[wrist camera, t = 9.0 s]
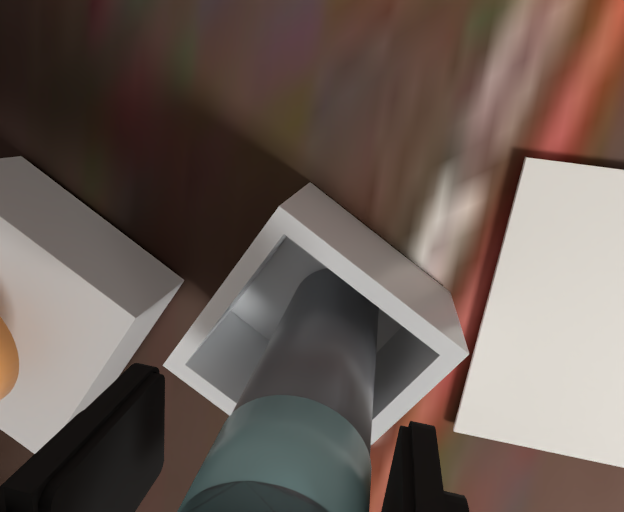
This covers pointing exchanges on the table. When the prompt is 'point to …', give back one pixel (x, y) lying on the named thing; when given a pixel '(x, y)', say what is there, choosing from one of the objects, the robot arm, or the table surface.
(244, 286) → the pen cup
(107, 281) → the button box
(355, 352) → the marker
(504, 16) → the table surface
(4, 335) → the button
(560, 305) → the paper
